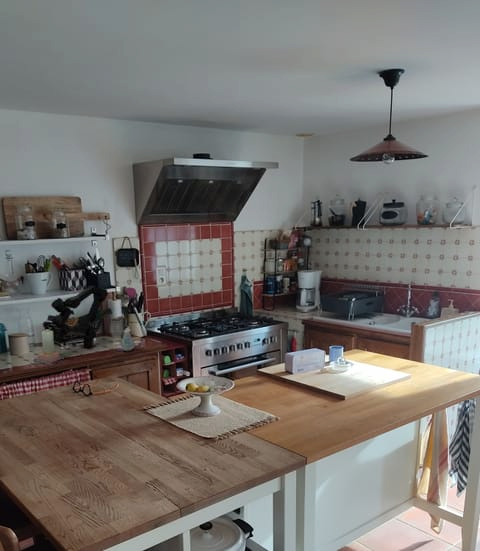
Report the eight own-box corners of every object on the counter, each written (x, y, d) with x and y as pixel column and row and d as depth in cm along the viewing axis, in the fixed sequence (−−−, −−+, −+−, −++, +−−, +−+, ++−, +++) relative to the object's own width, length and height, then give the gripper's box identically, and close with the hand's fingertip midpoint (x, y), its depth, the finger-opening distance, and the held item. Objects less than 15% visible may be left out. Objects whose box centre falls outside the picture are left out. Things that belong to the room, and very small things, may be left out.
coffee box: (120, 340, 327) (119, 316, 324) (128, 340, 325) (127, 316, 322) (112, 343, 318) (111, 319, 316) (121, 344, 316) (120, 319, 314)
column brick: (51, 351, 287) (50, 328, 285) (56, 353, 283) (54, 330, 281) (41, 353, 283) (39, 329, 281) (45, 355, 279) (44, 331, 277)
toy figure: (113, 354, 295) (112, 329, 293) (113, 349, 305) (112, 325, 303) (142, 352, 299) (141, 328, 297) (140, 347, 309) (140, 324, 307)
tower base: (49, 356, 292) (49, 349, 291) (64, 358, 286) (64, 352, 286) (33, 361, 281) (32, 354, 281) (48, 364, 276) (47, 357, 275)
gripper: (43, 307, 290) (29, 330, 282) (66, 310, 281) (52, 334, 273) (55, 318, 298) (41, 340, 290) (78, 321, 289) (64, 344, 281)
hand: (49, 339), depth 283 cm, fingers open, 9 cm apart
